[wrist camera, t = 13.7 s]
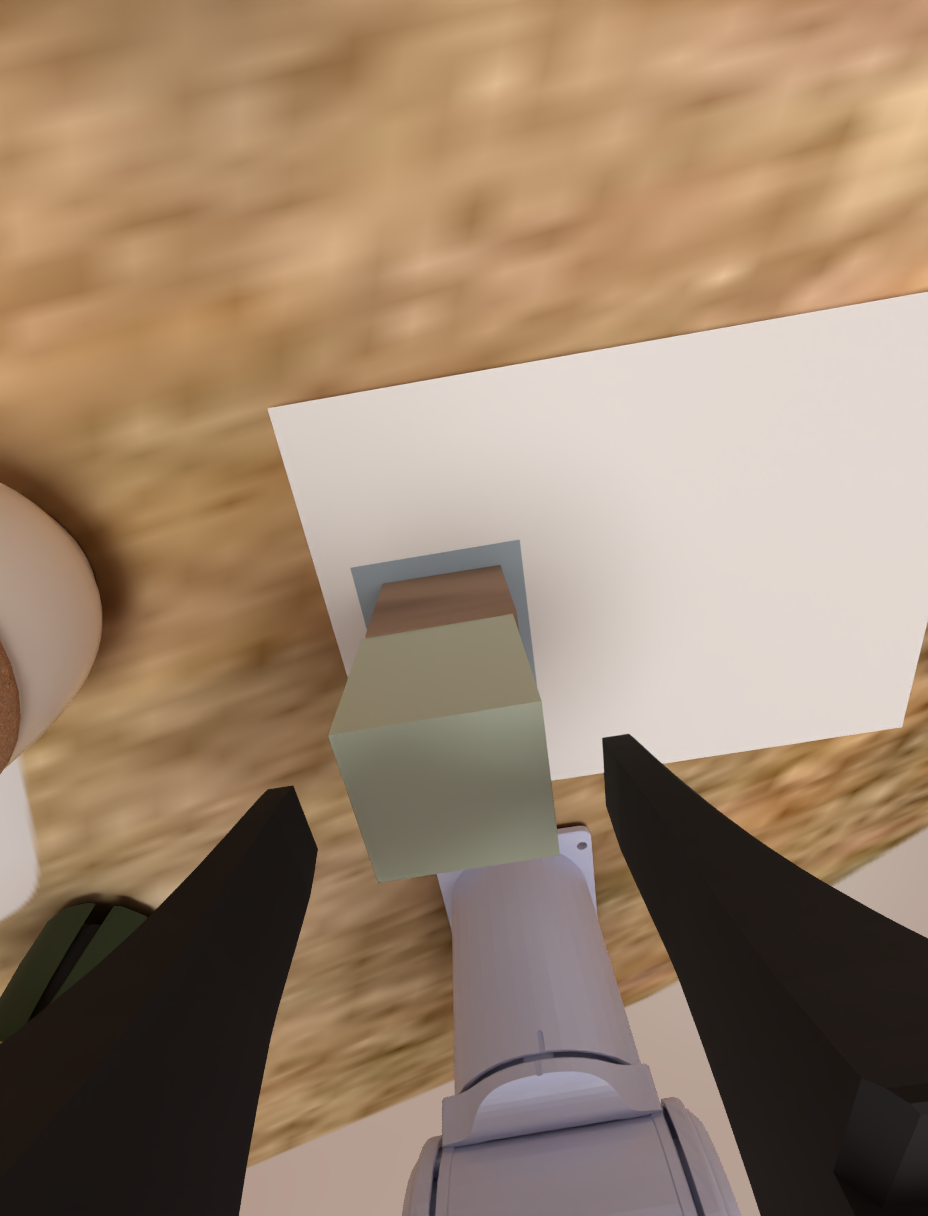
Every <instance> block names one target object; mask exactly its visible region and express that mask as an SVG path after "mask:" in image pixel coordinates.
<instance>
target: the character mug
mask: <svg viewBox="0 0 928 1216" xmlns="http://www.w3.org/2000/svg"><path fill="white" fill-rule="evenodd" d="M94 906H95V904H93V903H85V904H81V905H77V906H72V907H68V908H64V909H63V910H62V911H61V912H59V913H58V914H57V915H56V916H54V917H53V918H52V919H50V920H49V921H48V922H47V924H46V925H45V927H44V928H43V930H42V931H41V933H40V934H39V936H38V938H37V939H36V941H35V942H34V944H33V945H32V947H31V948H30V950H29V951H28V953H27V954H26V956H25V957H24V959H23V960H22V962H21V963H20V965H19V967H18V968H17V970H16V972H15V973H14V975H13V977H12V979H11V980H10V982H9V984H8V985H7V987H6V989H5V990H4V992H3V994H2V996H1V997H0V1044H1V1043H2V1042H3V1041H5V1040H6V1039H7V1038H9V1037H10V1036H11V1035H13V1034H14V1033H15V1032H16V1031H18V1030H19V1029H20V1028H22V1027H23V1026H24V1025H25V1024H27V1023H28V1022H29V1021H30V1020H32V1019H33V1018H34V1017H35V1016H36V1015H38V1014H39V1013H40V1012H41V1011H42V1010H44V1009H45V1008H46V1007H47V1006H48V1005H50V1004H51V1003H52V1002H53V1001H55V1000H56V999H57V998H58V997H59V996H61V995H62V994H63V993H64V992H65V991H67V990H68V989H69V988H70V987H71V986H73V985H74V984H75V983H76V982H77V981H79V980H80V979H81V978H82V977H83V976H85V975H86V974H87V973H88V972H89V971H90V970H92V969H93V968H94V967H95V966H96V965H97V964H98V963H100V962H101V961H102V960H103V959H104V958H105V957H106V956H107V955H108V954H110V953H111V952H112V951H113V950H114V949H115V948H116V947H117V946H118V945H119V944H121V943H122V942H123V941H124V940H125V939H126V938H127V937H128V936H129V935H130V934H131V933H132V932H133V931H135V930H136V929H137V928H138V927H139V926H140V925H141V924H142V923H143V922H144V921H145V920H146V919H147V918H148V917H147V916H144V915H142V914H139V913H137V912H135V911H132V910H130V909H127V908H125V907H122V906H114V907H113V908H112V910H111V911H110V913H109V914H108V916H107V917H106V919H105V920H104V922H103V923H102V925H100V924H91V925H83V924H84V922H85V920H86V919H87V917H88V915H89V914H90V912H91V911H92V909H93V907H94Z"/></svg>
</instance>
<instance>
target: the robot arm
mask: <svg viewBox="0 0 928 1216" xmlns="http://www.w3.org/2000/svg"><path fill="white" fill-rule="evenodd" d="M602 746H603V762H604V779H605V796H606V807H607V810H608V813H609V816H610V819H611V822H612V825H613V828H614V831H615V834H616V837H617V840H618V843H619V846H620V849H621V851H622V853H623V856H624V858H625V860H626V862H627V865H628V867H629V869H630V871H631V873H632V876H633V878H634V880H635V882H636V884H637V887H638V889H639V891H640V893H641V895H642V898H643V900H644V902H645V904H646V906H647V908H648V911H649V913H650V915H651V917H652V919H653V922H654V924H655V926H656V928H657V930H658V932H659V935H660V937H661V939H662V941H663V943H664V946H665V948H666V950H667V952H668V954H669V957H670V959H671V961H672V964H673V966H674V969H675V971H676V973H677V976H678V978H679V981H680V984H681V986H682V989H683V992H684V994H685V997H686V1000H687V1003H688V1006H689V1008H690V1011H691V1014H692V1016H693V1019H694V1022H695V1025H696V1028H697V1030H698V1033H699V1036H700V1039H701V1041H702V1044H703V1047H704V1050H705V1053H706V1056H707V1059H708V1061H709V1064H710V1067H711V1070H712V1073H713V1076H714V1078H715V1081H716V1084H717V1087H718V1090H719V1093H720V1095H721V1098H722V1101H723V1104H724V1107H725V1110H726V1113H727V1116H728V1119H729V1122H730V1125H731V1128H732V1131H733V1134H734V1136H735V1140H736V1143H737V1145H738V1149H739V1151H740V1154H741V1157H742V1160H743V1163H744V1166H745V1169H746V1172H747V1175H748V1178H749V1181H750V1184H751V1187H752V1190H753V1193H754V1196H755V1199H756V1202H757V1206H758V1209H759V1211H760V1215H761V1216H928V938H926V937H924V936H922V935H920V934H918V933H916V932H914V931H912V930H910V929H908V928H906V927H904V926H902V925H900V924H898V923H896V922H894V921H893V920H891V919H889V918H887V917H885V916H883V915H881V914H879V913H878V912H876V911H874V910H872V909H870V908H868V907H867V906H865V905H863V904H861V903H860V902H858V901H856V900H854V899H853V898H851V897H849V896H847V895H846V894H844V893H842V892H840V891H839V890H837V889H835V888H833V887H831V886H830V885H828V884H826V883H824V882H823V881H821V880H819V879H818V878H816V877H814V876H813V875H811V874H809V873H808V872H806V871H805V870H803V869H801V868H800V867H798V866H797V865H795V864H793V863H792V862H790V861H789V860H787V859H786V858H784V857H783V856H781V855H780V854H778V853H777V852H775V851H774V850H772V849H771V848H769V847H768V846H766V845H765V844H763V843H762V842H760V841H759V840H758V839H756V838H755V837H753V836H752V835H751V834H749V833H748V832H746V831H745V830H744V829H742V828H741V827H740V826H738V825H737V824H736V823H734V822H733V821H732V820H730V819H729V818H728V817H726V816H725V815H724V814H722V813H721V812H720V811H718V810H717V809H716V808H715V807H713V806H712V805H711V804H709V803H708V802H707V801H706V800H705V799H703V798H702V797H701V796H700V795H698V794H697V793H696V792H695V791H694V790H692V789H691V788H690V787H689V786H688V785H686V784H685V783H684V782H683V781H682V780H680V779H679V778H678V777H677V776H676V775H675V774H673V773H672V772H671V771H670V770H669V769H668V768H667V767H666V766H664V765H663V764H662V763H661V762H660V761H659V760H658V759H657V758H655V757H654V756H653V755H652V754H651V753H650V752H649V751H648V750H647V749H646V748H645V747H644V746H642V745H641V744H640V743H639V742H638V741H637V740H636V739H635V738H634V737H633V736H631V735H630V734H623V735H617V736H610V737H604V738H602ZM557 833H558V842H559V850H560V855H559V856H553V857H546V858H539V859H533V860H526V861H520V862H513V863H506V864H500V865H493V866H486V867H480V868H473V869H467V870H460V871H453V872H447V873H440V874H437V877H438V881H439V885H440V889H441V893H442V896H443V900H444V904H445V908H446V912H447V916H448V919H449V923H450V927H451V931H452V950H453V1013H454V1076H455V1095H454V1096H450V1097H445V1098H444V1099H443V1100H442V1135H441V1136H436V1137H432V1138H430V1139H428V1140H427V1142H426V1143H425V1145H424V1146H423V1148H422V1151H421V1153H420V1156H419V1159H418V1161H417V1163H416V1165H415V1166H414V1168H413V1170H412V1173H411V1175H410V1178H409V1181H408V1185H407V1189H406V1194H405V1199H404V1205H403V1212H402V1216H741V1213H740V1210H739V1208H738V1205H737V1202H736V1199H735V1197H734V1194H733V1192H732V1189H731V1186H730V1184H729V1181H728V1179H727V1176H726V1174H725V1171H724V1169H723V1166H722V1164H721V1162H720V1159H719V1156H718V1154H717V1152H716V1150H715V1147H714V1145H713V1143H712V1141H711V1139H710V1137H709V1134H708V1132H707V1131H706V1129H705V1127H704V1125H703V1124H702V1122H701V1121H700V1120H699V1119H698V1118H697V1117H696V1116H695V1115H694V1114H693V1113H691V1112H690V1111H689V1110H688V1109H686V1108H685V1106H684V1105H683V1103H682V1102H681V1101H680V1100H679V1099H678V1098H674V1097H670V1098H664V1099H661V1104H660V1101H659V1098H658V1095H657V1091H656V1088H655V1085H654V1082H653V1078H652V1075H651V1072H650V1069H649V1066H648V1065H647V1064H641V1063H640V1059H639V1056H638V1052H637V1049H636V1046H635V1042H634V1039H633V1036H632V1032H631V1029H630V1025H629V1022H628V1019H627V1016H626V1012H625V1009H624V1005H623V1002H622V999H621V995H620V992H619V989H618V985H617V982H616V979H615V975H614V972H613V969H612V965H611V962H610V958H609V955H608V952H607V948H606V945H605V942H604V938H603V935H602V932H601V928H600V925H599V922H598V918H597V906H596V893H595V881H594V868H593V855H592V842H591V835H590V832H589V829H588V828H587V827H585V826H574V827H567V828H561V829H557ZM581 842H582V843H581ZM317 851H318V848H317V846H316V843H315V841H314V838H313V836H312V833H311V830H310V828H309V825H308V823H307V820H306V817H305V815H304V812H303V810H302V807H301V805H300V802H299V799H298V797H297V794H296V792H295V789H294V786H287V787H281V788H274V789H268V790H267V791H266V792H265V793H264V794H263V795H262V796H261V797H260V798H259V799H258V800H257V801H256V802H255V804H254V805H253V806H252V807H251V808H250V809H249V810H248V811H247V812H246V814H245V815H244V816H243V817H242V818H241V819H240V820H239V821H238V823H237V824H236V825H235V826H234V827H233V828H232V829H231V830H230V831H229V833H228V834H227V835H226V836H225V837H224V838H223V839H222V840H221V841H220V843H219V844H218V845H217V846H216V847H215V848H214V849H213V850H212V851H211V852H210V854H209V855H208V856H207V857H206V858H205V859H204V860H203V861H202V862H201V863H200V865H199V866H198V867H197V868H196V869H195V870H194V871H193V872H192V873H191V874H190V875H189V876H188V877H187V878H186V879H185V880H184V881H183V882H182V883H181V884H180V885H179V886H178V888H177V889H176V890H175V891H174V892H173V893H172V894H171V895H170V896H169V897H168V898H167V899H166V900H165V901H164V902H163V903H162V904H161V905H160V906H159V907H158V908H157V909H156V910H155V911H154V912H153V913H152V914H151V915H150V916H149V917H148V918H147V919H146V920H145V921H144V922H143V923H142V924H141V925H140V926H139V927H138V928H137V929H136V930H135V931H133V932H132V933H131V934H130V935H129V936H128V937H127V938H126V939H125V940H124V941H123V942H122V943H121V944H119V945H118V946H117V947H116V948H115V949H114V950H113V951H112V952H111V953H110V954H108V955H107V956H106V957H105V958H104V959H103V960H102V961H101V962H100V963H98V964H97V965H96V966H95V967H94V968H93V969H92V970H90V971H89V972H88V973H87V974H86V975H85V976H83V977H82V978H81V979H80V980H79V981H77V982H76V983H75V984H74V985H73V986H71V987H70V988H69V989H68V990H67V991H65V992H64V993H63V994H62V995H61V996H59V997H58V998H57V999H56V1000H55V1001H53V1002H52V1003H51V1004H50V1005H48V1006H47V1007H46V1008H45V1009H44V1010H42V1011H41V1012H40V1013H39V1014H38V1015H36V1016H35V1017H34V1018H33V1019H32V1020H30V1021H29V1022H28V1023H27V1024H25V1025H24V1026H23V1027H22V1028H20V1029H19V1030H18V1031H16V1032H15V1033H14V1034H13V1035H11V1036H10V1037H9V1038H7V1039H6V1040H5V1041H3V1042H2V1043H1V1044H0V1216H239V1211H240V1205H241V1198H242V1191H243V1185H244V1179H245V1173H246V1166H247V1161H248V1155H249V1150H250V1144H251V1138H252V1133H253V1127H254V1122H255V1116H256V1110H257V1105H258V1099H259V1094H260V1089H261V1084H262V1079H263V1074H264V1069H265V1064H266V1059H267V1054H268V1049H269V1044H270V1039H271V1035H272V1031H273V1027H274V1023H275V1019H276V1015H277V1011H278V1007H279V1004H280V1000H281V997H282V993H283V990H284V986H285V983H286V979H287V976H288V972H289V969H290V965H291V962H292V959H293V955H294V952H295V948H296V945H297V941H298V938H299V934H300V931H301V927H302V924H303V920H304V917H305V913H306V909H307V906H308V902H309V898H310V894H311V888H312V883H313V877H314V871H315V864H316V857H317Z"/></svg>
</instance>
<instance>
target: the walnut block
mask: <svg viewBox="0 0 928 1216" xmlns="http://www.w3.org/2000/svg"><path fill="white" fill-rule="evenodd" d="M508 614H513V616H514V619H515V622H516V625H517V628H518V631H519V626H518V618H517V611H516V608H515V606H514V603H513V600H512V597H511V594H510V591H509V588H508V586H507V583H506V580H505V577H504V574H503V571H502V568H501V566H500V565H496V566H490V567H483V568H477V569H471V570H465V571H458V572H452V573H446V574H439V575H433V576H427V577H421V578H414V579H408V580H402V581H395V582H389V583H383V585H382V588H381V591H380V594H379V597H378V600H377V603H376V606H375V609H374V611H373V614H372V617H371V620H370V623H369V626H368V629H367V632H366V635H365V637H366V638H369V637H375V636H381V635H387V634H393V633H399V632H406V631H412V630H418V629H424V628H430V627H436V626H442V625H448V624H454V623H460V622H466V621H472V620H478V619H484V618H490V617H496V616H502V615H508Z"/></svg>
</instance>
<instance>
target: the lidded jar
mask: <svg viewBox="0 0 928 1216" xmlns="http://www.w3.org/2000/svg"><path fill="white" fill-rule="evenodd" d="M101 635H102V605H101V600H100V595H99V590H98V587H97V585H96V582H95V577H94V574H93V571H92V568H91V565H90V563H89V561H88V559H87V557H86V555H85V553H84V552H83V550H82V549H81V547H80V546H79V545H78V543H77V542H76V540H75V539H74V538H73V537H72V536H71V535H70V534H69V533H68V531H67V530H66V529H65V528H64V527H62V526H61V525H60V524H59V523H58V522H57V521H55V520H54V519H53V518H52V517H50V516H49V515H48V514H46V513H45V512H44V511H43V510H42V509H41V508H39V507H38V506H37V505H36V504H34V503H33V502H32V501H30V500H29V499H27V498H26V497H24V496H23V495H21V494H20V493H18V492H17V491H15V490H13V489H12V488H10V487H8V486H6V485H4V484H2V483H0V774H1V772H2V771H3V770H4V769H5V768H6V767H7V766H8V765H9V764H11V763H12V762H13V761H14V760H15V759H16V758H17V757H18V756H20V755H21V754H22V753H23V752H24V751H25V750H26V749H27V748H29V747H30V746H31V745H32V744H33V743H34V742H35V741H36V740H37V739H38V738H40V737H41V736H42V735H43V734H44V733H45V732H46V731H47V730H48V729H49V728H50V727H51V725H52V724H53V723H54V722H55V721H56V720H57V719H58V718H59V717H60V715H61V714H62V713H63V712H64V711H65V709H66V708H67V707H68V705H69V704H70V702H71V701H72V700H73V698H74V697H75V695H76V694H77V693H78V691H79V690H80V688H81V687H82V685H83V684H84V683H85V681H86V679H87V677H88V675H89V672H90V670H91V668H92V665H93V663H94V660H95V658H96V655H97V653H98V650H99V645H100V640H101Z"/></svg>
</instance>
